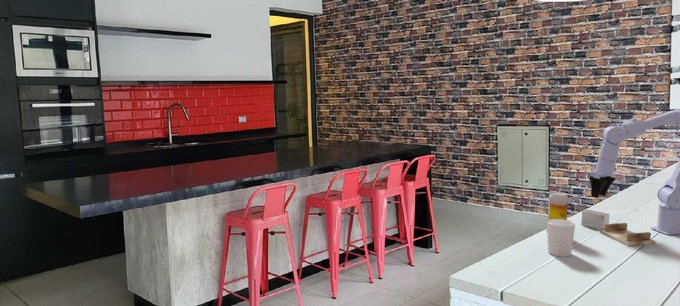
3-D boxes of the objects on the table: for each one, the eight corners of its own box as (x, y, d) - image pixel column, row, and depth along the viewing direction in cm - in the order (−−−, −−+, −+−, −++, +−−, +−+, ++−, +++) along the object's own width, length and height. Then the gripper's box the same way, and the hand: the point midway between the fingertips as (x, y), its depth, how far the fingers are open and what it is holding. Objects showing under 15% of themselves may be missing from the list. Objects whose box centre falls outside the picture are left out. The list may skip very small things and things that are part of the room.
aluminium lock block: (586, 223, 198) (587, 209, 197) (608, 228, 192) (609, 213, 191) (581, 225, 195) (582, 211, 194) (603, 230, 189) (604, 215, 188)
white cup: (571, 250, 169) (573, 220, 167) (574, 258, 161) (576, 227, 160) (545, 247, 171) (547, 218, 169) (546, 256, 164) (548, 224, 162)
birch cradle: (625, 231, 188) (625, 221, 187) (654, 243, 174) (655, 233, 174) (599, 232, 186) (600, 223, 186) (628, 245, 173) (628, 235, 172)
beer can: (567, 239, 180) (570, 196, 177) (548, 238, 181) (550, 195, 179) (563, 233, 186) (566, 192, 183) (545, 232, 187) (547, 191, 184)
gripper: (602, 156, 196) (593, 191, 199) (588, 157, 186) (579, 194, 188) (622, 160, 191) (613, 196, 194) (609, 162, 181) (600, 200, 183)
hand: (598, 196), depth 191 cm, fingers open, 7 cm apart
